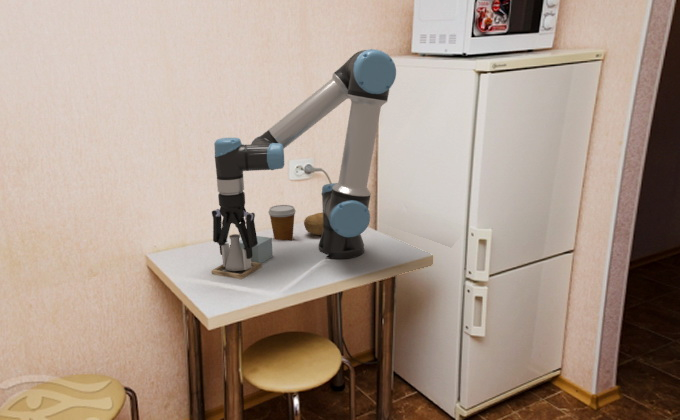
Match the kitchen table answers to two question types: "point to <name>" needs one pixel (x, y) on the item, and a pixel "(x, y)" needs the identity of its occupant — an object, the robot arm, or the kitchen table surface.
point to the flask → (235, 255)
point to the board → (234, 275)
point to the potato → (314, 224)
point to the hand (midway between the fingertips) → (237, 266)
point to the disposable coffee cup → (282, 221)
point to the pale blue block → (261, 249)
